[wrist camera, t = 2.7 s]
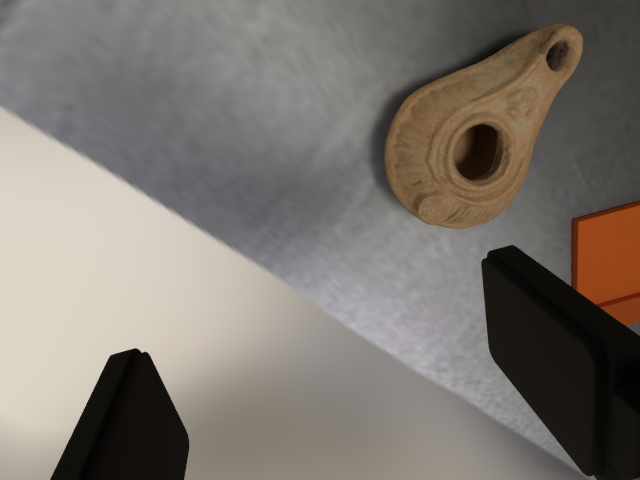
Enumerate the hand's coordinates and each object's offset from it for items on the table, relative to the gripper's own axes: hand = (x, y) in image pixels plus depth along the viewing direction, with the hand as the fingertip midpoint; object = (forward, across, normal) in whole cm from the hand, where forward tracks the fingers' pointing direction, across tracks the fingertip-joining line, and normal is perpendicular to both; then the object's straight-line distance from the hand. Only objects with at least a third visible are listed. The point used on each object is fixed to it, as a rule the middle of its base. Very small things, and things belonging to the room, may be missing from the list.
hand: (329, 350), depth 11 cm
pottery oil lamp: (+18, -12, 0) cm, 22 cm away
